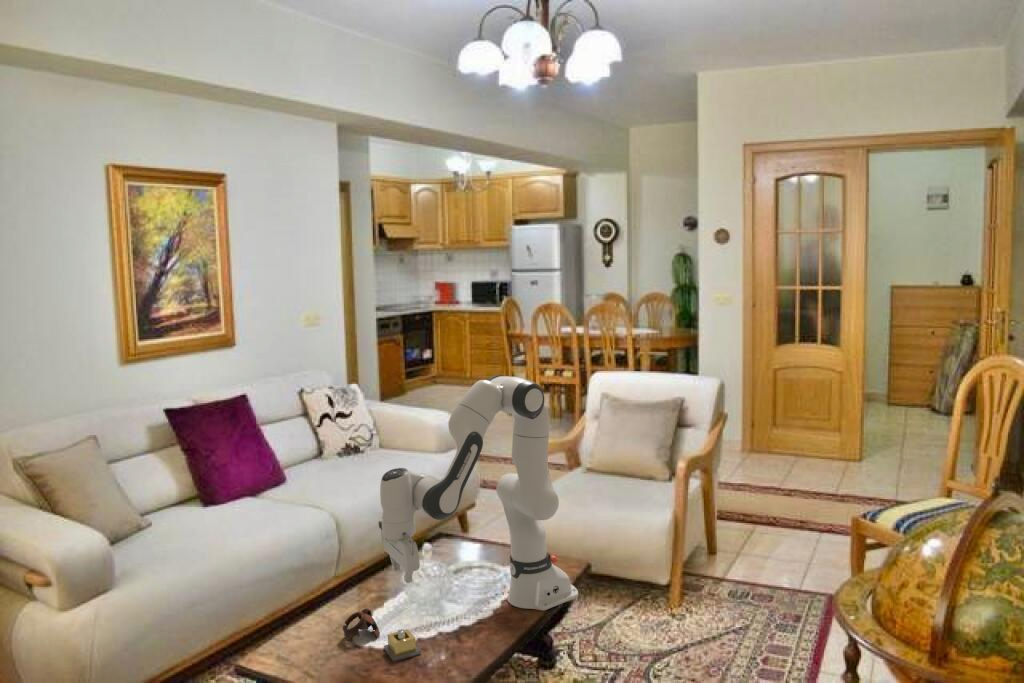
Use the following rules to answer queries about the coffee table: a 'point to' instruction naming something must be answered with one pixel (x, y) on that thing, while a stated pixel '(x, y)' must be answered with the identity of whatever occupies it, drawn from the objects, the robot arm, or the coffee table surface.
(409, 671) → the coffee table surface
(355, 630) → the pottery mug
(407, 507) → the robot arm
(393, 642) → the wooden square frame
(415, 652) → the post
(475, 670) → the coffee table surface
